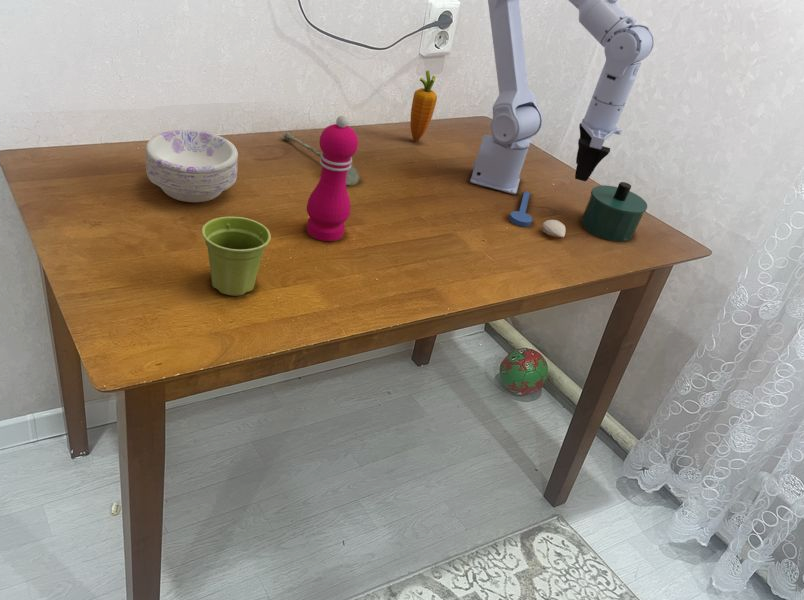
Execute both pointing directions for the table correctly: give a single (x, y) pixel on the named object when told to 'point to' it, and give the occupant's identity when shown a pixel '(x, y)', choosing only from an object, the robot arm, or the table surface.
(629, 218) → the saucepan
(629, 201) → the saucepan lid
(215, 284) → the plant pot
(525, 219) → the blue spoon
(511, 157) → the robot arm
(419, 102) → the carrot
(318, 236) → the pepper mill
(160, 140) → the paper bowls
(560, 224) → the cream teardrop shape
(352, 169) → the soupspoon
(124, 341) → the table surface
